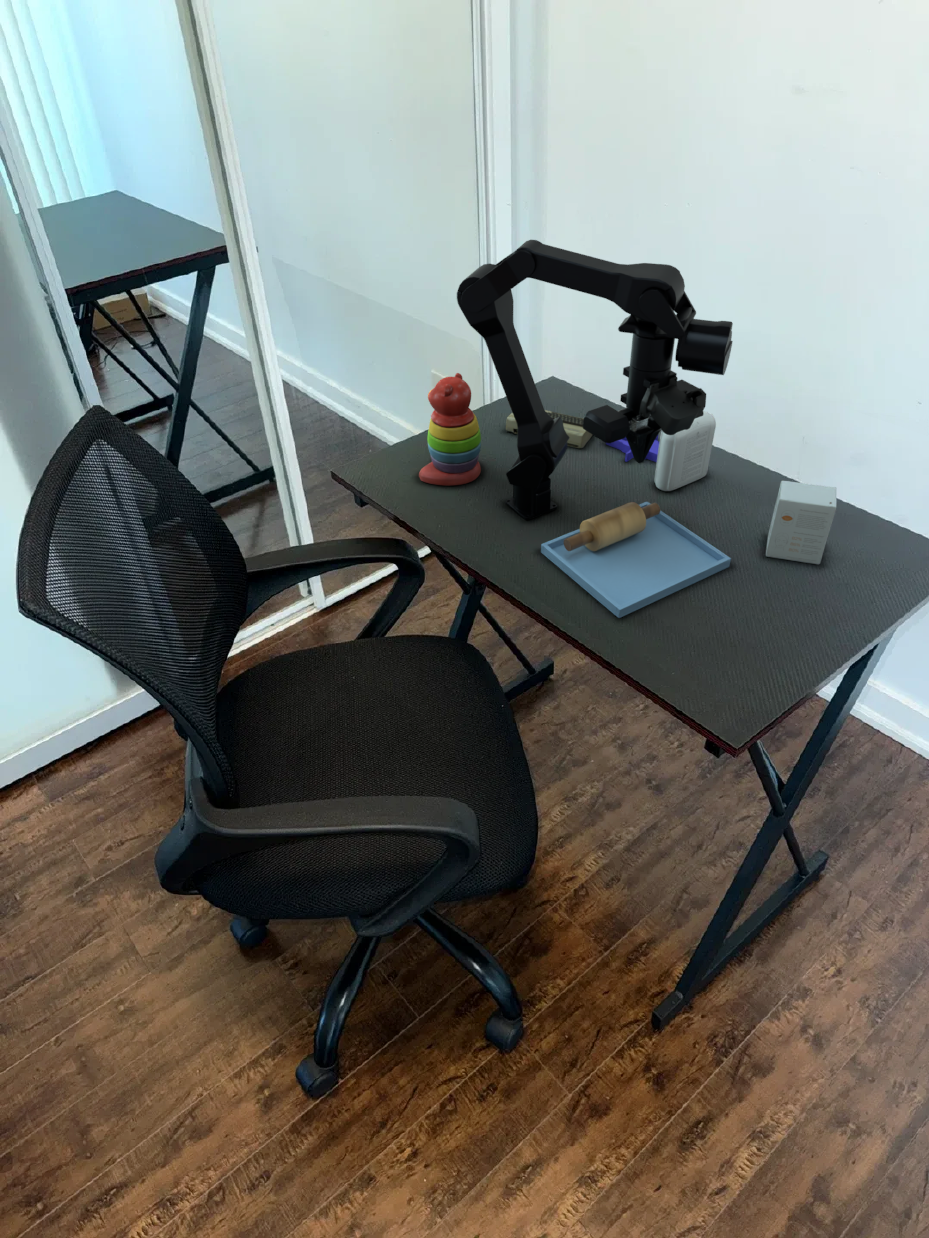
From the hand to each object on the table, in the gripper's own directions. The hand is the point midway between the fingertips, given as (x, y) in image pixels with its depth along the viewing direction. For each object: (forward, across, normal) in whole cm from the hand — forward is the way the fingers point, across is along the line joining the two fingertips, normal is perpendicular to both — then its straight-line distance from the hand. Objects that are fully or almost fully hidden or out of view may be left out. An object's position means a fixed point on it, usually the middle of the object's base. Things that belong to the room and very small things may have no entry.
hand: (639, 461), depth 126 cm
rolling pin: (+12, -5, -2) cm, 13 cm away
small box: (+12, +16, -19) cm, 28 cm away
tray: (+12, -5, -7) cm, 15 cm away
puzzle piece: (+12, +17, +18) cm, 28 cm away
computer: (+12, +8, +33) cm, 36 cm away
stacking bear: (+12, -15, +31) cm, 37 cm away
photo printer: (+12, +16, +6) cm, 21 cm away
